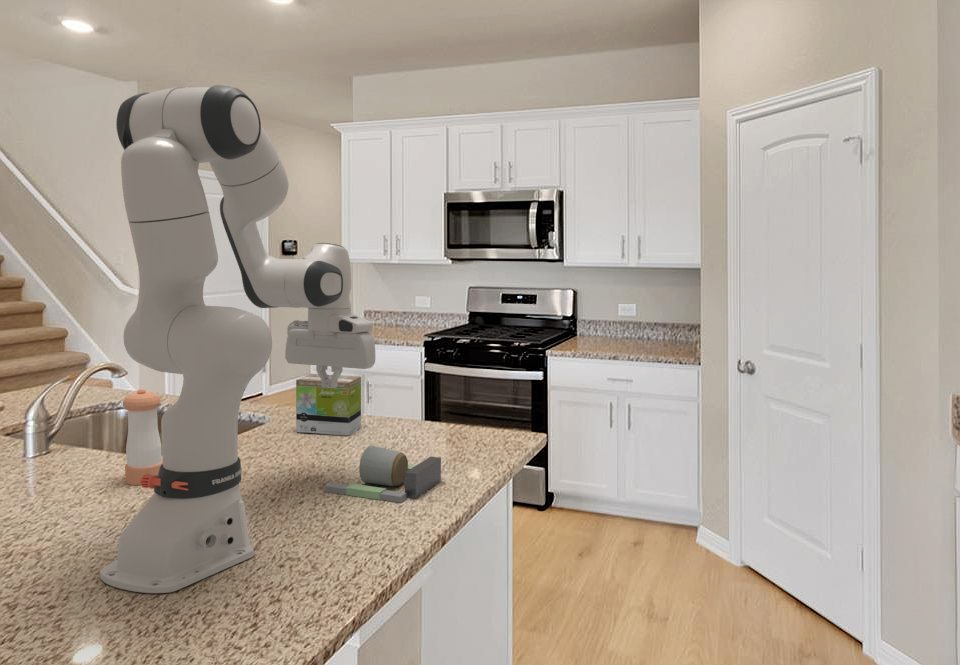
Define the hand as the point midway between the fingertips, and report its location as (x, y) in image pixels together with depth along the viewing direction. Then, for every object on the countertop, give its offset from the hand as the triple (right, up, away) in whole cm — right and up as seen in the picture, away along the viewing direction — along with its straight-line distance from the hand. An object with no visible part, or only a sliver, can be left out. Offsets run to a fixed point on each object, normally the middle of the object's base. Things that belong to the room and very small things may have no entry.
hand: (329, 387), depth 147 cm
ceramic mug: (+12, -20, -1) cm, 23 cm away
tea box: (-9, -15, +42) cm, 45 cm away
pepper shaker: (-38, -19, -2) cm, 43 cm away
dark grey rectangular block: (+20, -20, -5) cm, 29 cm away
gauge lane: (+12, -20, -2) cm, 23 cm away
